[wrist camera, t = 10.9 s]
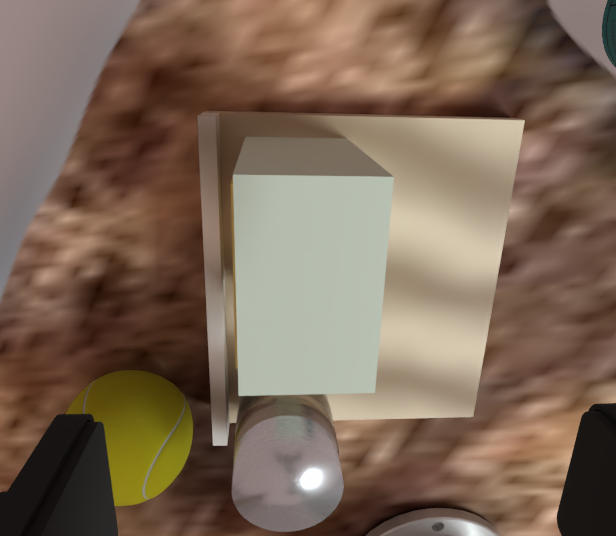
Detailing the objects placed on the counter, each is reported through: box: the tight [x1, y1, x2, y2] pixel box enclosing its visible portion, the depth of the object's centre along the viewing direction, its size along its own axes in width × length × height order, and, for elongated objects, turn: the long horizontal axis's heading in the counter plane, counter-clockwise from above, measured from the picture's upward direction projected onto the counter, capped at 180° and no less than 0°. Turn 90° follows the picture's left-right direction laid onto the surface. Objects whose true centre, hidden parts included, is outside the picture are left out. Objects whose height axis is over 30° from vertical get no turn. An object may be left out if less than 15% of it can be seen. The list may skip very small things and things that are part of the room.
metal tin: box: [232, 394, 344, 532], centre depth 26 cm, size 5×5×8 cm
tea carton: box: [231, 137, 394, 396], centre depth 22 cm, size 5×8×10 cm, turn 178°
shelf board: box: [197, 111, 525, 446], centre depth 28 cm, size 18×16×4 cm
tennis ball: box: [66, 370, 193, 506], centre depth 28 cm, size 7×7×7 cm
